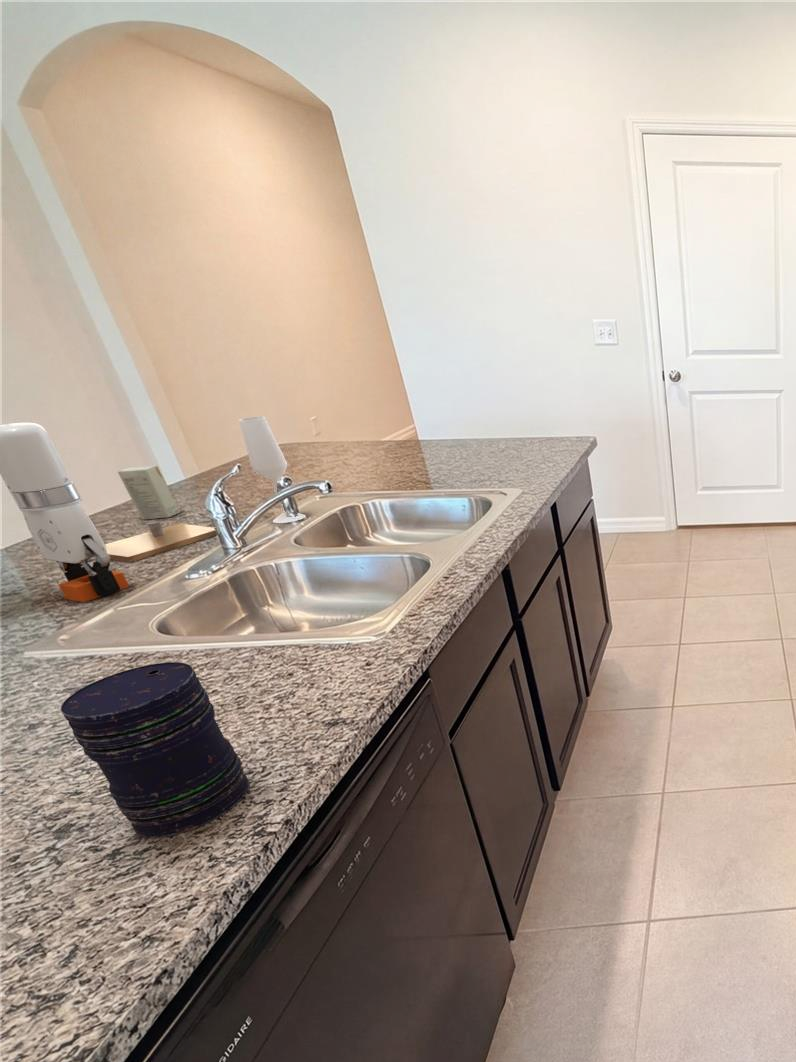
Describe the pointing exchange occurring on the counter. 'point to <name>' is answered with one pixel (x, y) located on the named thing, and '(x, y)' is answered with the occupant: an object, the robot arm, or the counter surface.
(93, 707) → the stacked disc cylinder
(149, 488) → the cosmetic box
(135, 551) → the base pad
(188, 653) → the counter surface
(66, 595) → the orange block
